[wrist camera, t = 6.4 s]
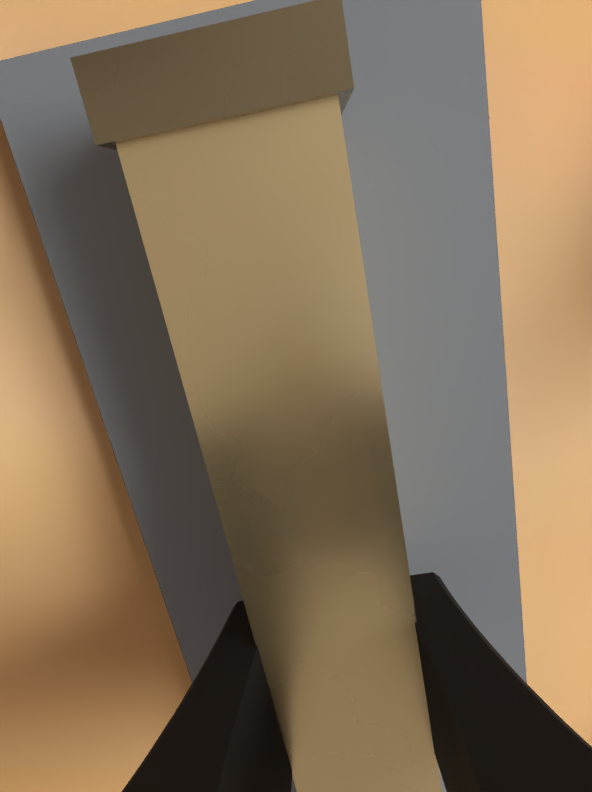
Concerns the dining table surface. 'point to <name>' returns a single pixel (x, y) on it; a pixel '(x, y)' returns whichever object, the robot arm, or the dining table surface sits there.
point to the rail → (280, 367)
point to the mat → (387, 291)
